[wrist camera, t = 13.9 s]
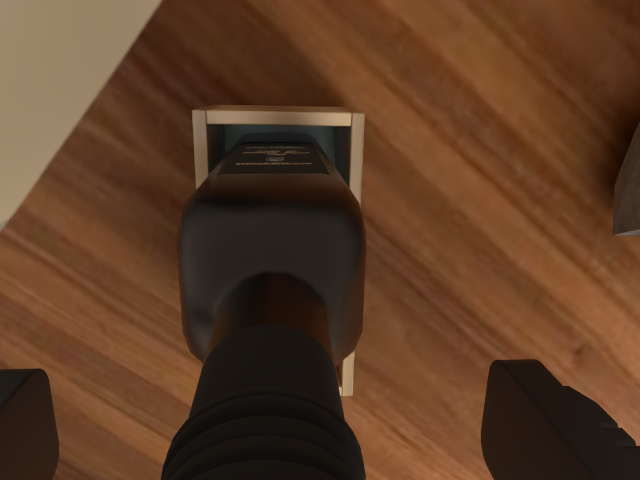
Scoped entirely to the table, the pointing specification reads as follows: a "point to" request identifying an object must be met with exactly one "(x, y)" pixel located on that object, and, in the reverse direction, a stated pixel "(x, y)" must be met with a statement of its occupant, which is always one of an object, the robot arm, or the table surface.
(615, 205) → the potted plant
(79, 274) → the table surface
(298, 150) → the wine bottle
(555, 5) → the table surface
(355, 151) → the crate
